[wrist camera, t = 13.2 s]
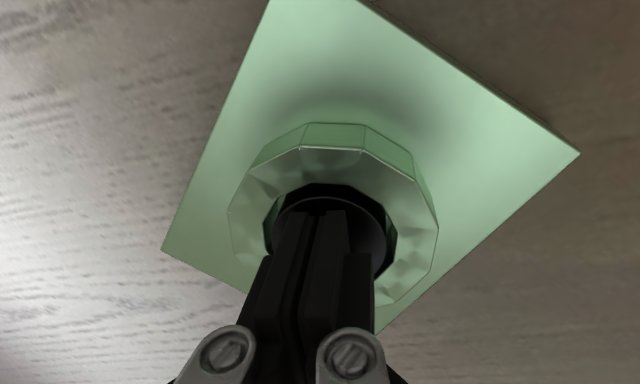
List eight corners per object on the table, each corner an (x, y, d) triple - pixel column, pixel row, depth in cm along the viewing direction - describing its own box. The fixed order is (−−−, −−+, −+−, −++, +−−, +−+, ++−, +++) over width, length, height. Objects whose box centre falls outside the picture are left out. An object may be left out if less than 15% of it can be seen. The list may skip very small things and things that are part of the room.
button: (314, 149, 11) (305, 174, 10) (407, 204, 12) (411, 236, 10) (266, 224, 13) (252, 256, 12) (349, 269, 14) (346, 304, 12)
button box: (303, -45, 11) (269, -55, 7) (552, 127, 12) (620, 183, 9) (183, 220, 17) (133, 281, 13) (361, 313, 18) (357, 389, 15)
